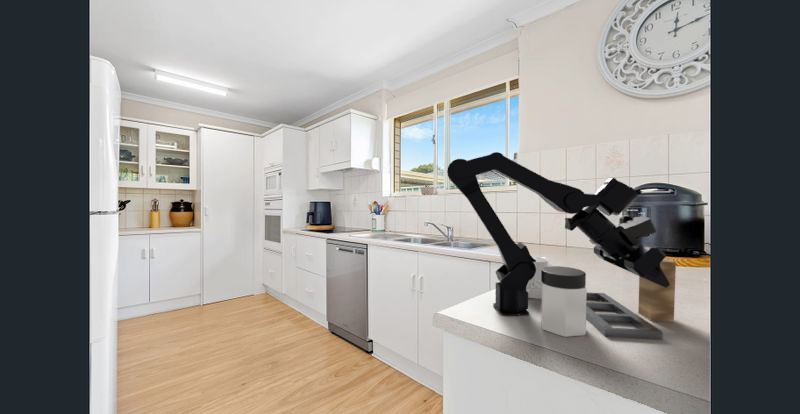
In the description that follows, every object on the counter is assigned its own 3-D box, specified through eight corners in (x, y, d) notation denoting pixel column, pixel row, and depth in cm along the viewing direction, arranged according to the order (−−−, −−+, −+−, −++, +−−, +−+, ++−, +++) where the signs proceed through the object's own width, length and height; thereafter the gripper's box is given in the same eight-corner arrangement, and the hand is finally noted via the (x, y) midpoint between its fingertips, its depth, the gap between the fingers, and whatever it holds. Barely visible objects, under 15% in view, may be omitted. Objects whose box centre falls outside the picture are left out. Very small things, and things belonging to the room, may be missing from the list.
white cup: (545, 301, 81) (546, 262, 81) (513, 296, 85) (514, 259, 85) (549, 293, 88) (550, 257, 87) (519, 288, 92) (520, 254, 91)
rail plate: (605, 336, 62) (605, 328, 61) (563, 297, 84) (563, 291, 84) (662, 339, 60) (662, 331, 60) (603, 298, 83) (604, 293, 83)
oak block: (650, 320, 69) (652, 261, 68) (638, 312, 73) (639, 257, 72) (673, 322, 68) (675, 262, 67) (660, 313, 72) (661, 257, 72)
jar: (593, 329, 65) (594, 271, 64) (576, 341, 59) (578, 278, 59) (549, 316, 72) (550, 263, 71) (531, 326, 66) (532, 269, 66)
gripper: (655, 206, 61) (719, 264, 60) (607, 203, 79) (655, 247, 78) (610, 247, 63) (671, 304, 61) (573, 234, 81) (620, 277, 80)
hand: (653, 279), depth 70 cm, fingers open, 9 cm apart
